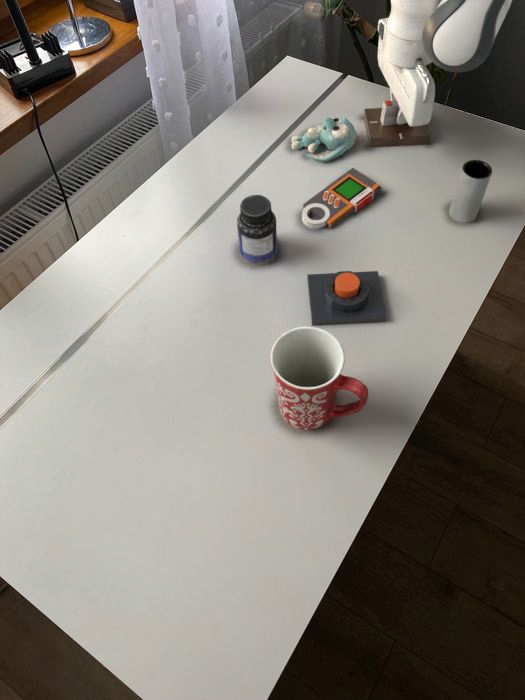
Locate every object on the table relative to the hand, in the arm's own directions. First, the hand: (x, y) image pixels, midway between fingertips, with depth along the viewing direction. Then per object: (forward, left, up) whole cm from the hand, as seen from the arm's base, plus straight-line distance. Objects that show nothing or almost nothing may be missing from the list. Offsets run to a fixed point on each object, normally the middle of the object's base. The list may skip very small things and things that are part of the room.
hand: (398, 116), depth 112 cm
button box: (+14, +40, -4) cm, 43 cm away
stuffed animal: (+14, +3, -4) cm, 15 cm away
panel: (0, 0, -4) cm, 4 cm away
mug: (+20, +59, -4) cm, 62 cm away
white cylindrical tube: (-8, +23, -4) cm, 24 cm away
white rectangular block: (0, 0, -1) cm, 1 cm away
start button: (+14, +40, -1) cm, 42 cm away
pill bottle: (+27, +29, -4) cm, 40 cm away
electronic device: (+13, +19, -4) cm, 23 cm away
